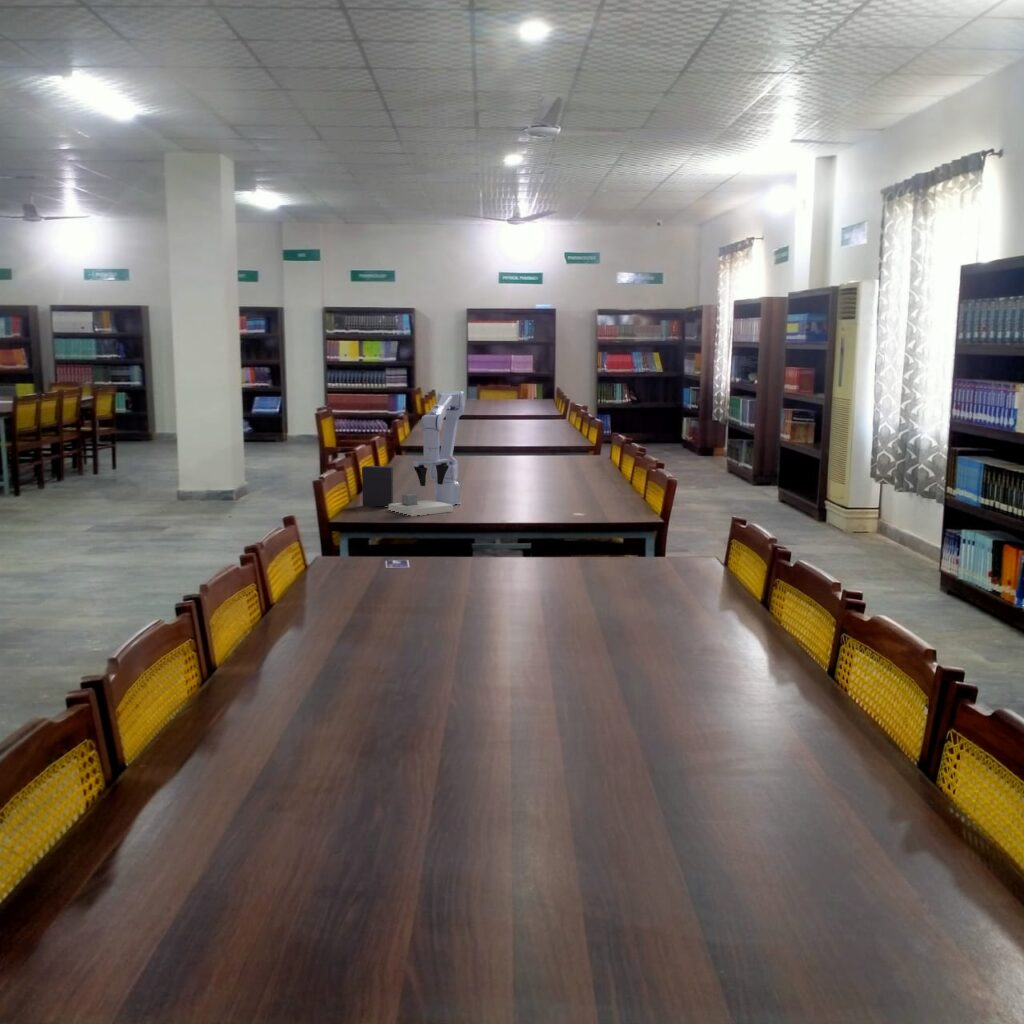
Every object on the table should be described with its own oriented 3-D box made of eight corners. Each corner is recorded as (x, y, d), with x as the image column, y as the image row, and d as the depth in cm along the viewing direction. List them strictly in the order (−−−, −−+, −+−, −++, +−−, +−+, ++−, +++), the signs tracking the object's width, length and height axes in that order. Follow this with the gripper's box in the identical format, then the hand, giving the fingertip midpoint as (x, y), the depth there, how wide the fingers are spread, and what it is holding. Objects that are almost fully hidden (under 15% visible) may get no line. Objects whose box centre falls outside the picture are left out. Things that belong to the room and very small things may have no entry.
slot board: (429, 506, 364) (429, 499, 363) (453, 511, 352) (453, 504, 352) (388, 510, 352) (388, 503, 352) (411, 516, 341) (411, 509, 341)
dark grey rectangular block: (393, 506, 363) (393, 466, 361) (391, 507, 359) (390, 467, 357) (365, 505, 364) (364, 465, 362) (362, 506, 360) (361, 466, 358)
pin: (411, 509, 355) (411, 493, 354) (417, 511, 352) (417, 495, 351) (402, 510, 353) (402, 494, 352) (407, 512, 350) (407, 496, 349)
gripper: (421, 449, 343) (421, 487, 345) (454, 447, 352) (454, 484, 354) (410, 448, 348) (410, 485, 350) (442, 446, 357) (442, 482, 360)
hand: (431, 485), depth 353 cm, fingers open, 7 cm apart
